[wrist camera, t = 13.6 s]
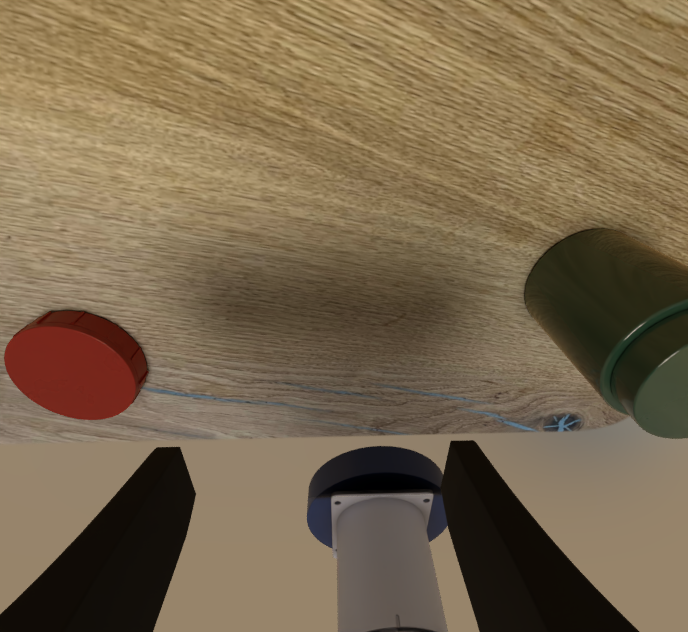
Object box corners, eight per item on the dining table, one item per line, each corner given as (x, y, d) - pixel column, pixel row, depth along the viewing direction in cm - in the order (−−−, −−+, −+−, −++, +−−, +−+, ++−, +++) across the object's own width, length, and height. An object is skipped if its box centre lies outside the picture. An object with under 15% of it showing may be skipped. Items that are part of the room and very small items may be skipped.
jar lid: (130, 310, 18) (116, 326, 17) (159, 400, 21) (148, 419, 20) (4, 309, 18) (-20, 326, 16) (51, 400, 21) (34, 420, 19)
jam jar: (616, 326, 19) (752, 442, 13) (513, 330, 19) (601, 448, 13) (659, 226, 16) (856, 311, 10) (539, 230, 16) (664, 318, 10)
